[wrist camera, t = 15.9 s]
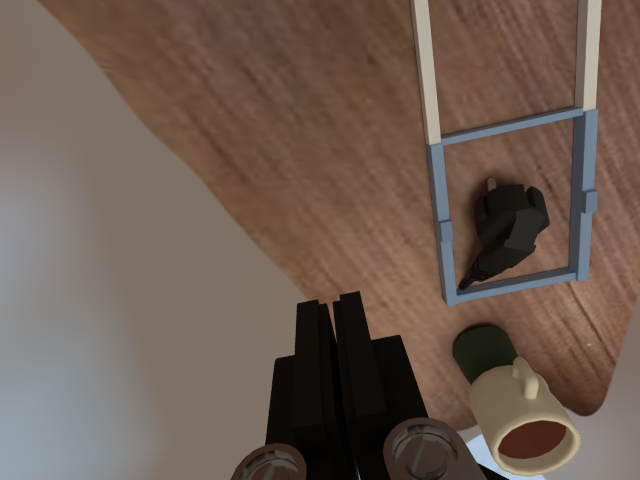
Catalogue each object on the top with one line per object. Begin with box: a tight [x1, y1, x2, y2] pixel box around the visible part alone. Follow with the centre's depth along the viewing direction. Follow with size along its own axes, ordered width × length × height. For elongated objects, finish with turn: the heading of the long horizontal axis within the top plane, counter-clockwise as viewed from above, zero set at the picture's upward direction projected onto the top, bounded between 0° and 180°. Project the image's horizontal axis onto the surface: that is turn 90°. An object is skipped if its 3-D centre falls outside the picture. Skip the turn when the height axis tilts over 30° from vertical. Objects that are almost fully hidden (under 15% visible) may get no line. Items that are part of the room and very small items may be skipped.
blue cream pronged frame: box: [410, 0, 601, 307], centre depth 34 cm, size 31×14×2 cm, turn 12°
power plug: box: [459, 177, 549, 290], centre depth 38 cm, size 6×8×12 cm
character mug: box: [453, 327, 581, 476], centre depth 39 cm, size 11×7×13 cm, turn 4°
